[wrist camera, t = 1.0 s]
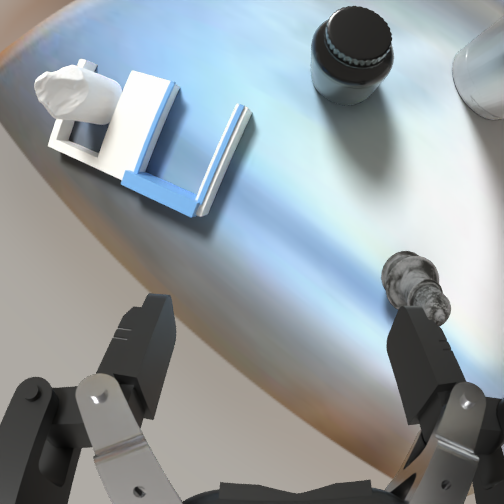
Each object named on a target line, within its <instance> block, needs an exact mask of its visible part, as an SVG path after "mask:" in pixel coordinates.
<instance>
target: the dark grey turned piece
mask: <svg viewBox="0 0 504 504" xmlns="http://www.w3.org/2000/svg"><path fill="white" fill-rule="evenodd" d="M381 279H382V284H383V286H384V288H385V290H386V294H387V298H388V299H389V301H390V303H391V304H392V305H393V306H394V307H395V308H396V309H398V310H399V308H400V307H401V306H421V307H422V308H423V309H424V311H425V313H426V315H427V317H428V319H429V320H433V321H434V322H435V323H436V324H437V325H438V326H441V325H442V324H444V323H445V322H446V321H447V319H448V318H449V315H450V313H451V305H450V302H449V300H448V298H447V297H446V296H445V295H444V294H443V292H442V288H441V286H440V285H439V275H438V271H437V269H436V267H435V266H434V265H433V263H432V262H431V261H429V260H428V259H426V258H424V257H420V256H418V255H417V254H415V253H413V252H410V251H401V252H398V253H396V254H394V255H393V256H391V257H390V258H389V259H388V260H387V261H386V263H385V265H384V266H383V270H382V277H381Z"/></svg>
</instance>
